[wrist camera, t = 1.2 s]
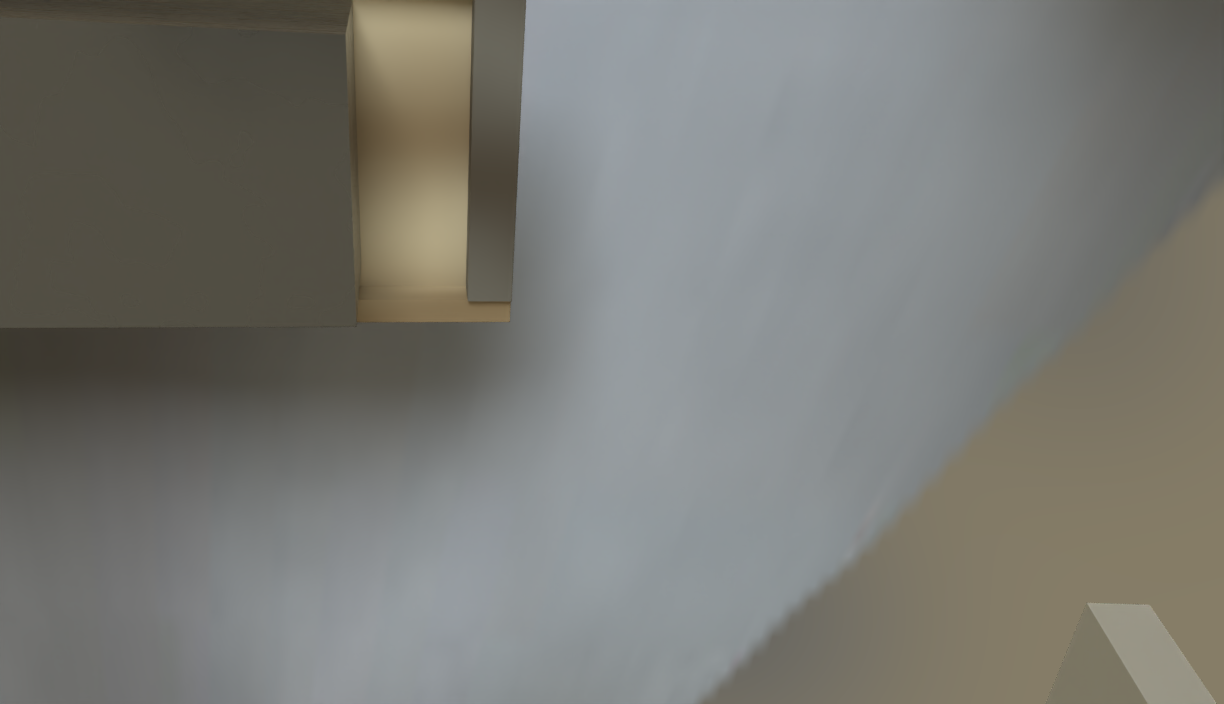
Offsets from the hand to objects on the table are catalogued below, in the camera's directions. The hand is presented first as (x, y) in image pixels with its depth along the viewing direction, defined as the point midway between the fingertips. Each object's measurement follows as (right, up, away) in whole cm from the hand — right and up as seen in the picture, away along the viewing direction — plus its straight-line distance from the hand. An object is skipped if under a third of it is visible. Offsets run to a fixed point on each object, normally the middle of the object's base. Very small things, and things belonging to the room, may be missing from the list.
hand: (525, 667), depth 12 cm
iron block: (-10, +9, +13) cm, 19 cm away
